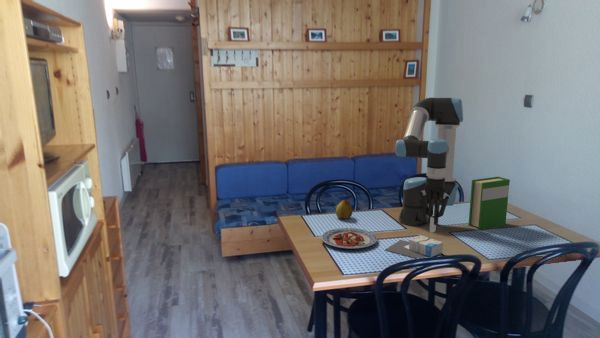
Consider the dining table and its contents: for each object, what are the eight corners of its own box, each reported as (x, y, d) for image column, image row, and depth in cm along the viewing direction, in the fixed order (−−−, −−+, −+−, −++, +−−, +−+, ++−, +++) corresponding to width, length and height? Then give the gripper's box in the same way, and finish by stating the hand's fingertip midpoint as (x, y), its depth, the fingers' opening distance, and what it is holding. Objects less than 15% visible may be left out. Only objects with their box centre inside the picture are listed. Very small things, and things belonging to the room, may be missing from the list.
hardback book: (479, 229, 218) (483, 183, 213) (468, 225, 225) (471, 179, 220) (505, 224, 225) (509, 179, 220) (493, 220, 232) (497, 176, 227)
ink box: (431, 246, 183) (403, 237, 194) (430, 257, 184) (402, 247, 195) (443, 241, 188) (415, 232, 199) (442, 252, 189) (414, 243, 200)
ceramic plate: (312, 236, 211) (312, 230, 210) (358, 229, 221) (358, 223, 220) (337, 256, 188) (337, 249, 187) (388, 246, 198) (388, 240, 197)
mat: (384, 250, 193) (384, 249, 193) (400, 240, 205) (400, 239, 204) (425, 261, 181) (425, 260, 181) (440, 250, 193) (440, 249, 193)
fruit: (336, 215, 243) (336, 194, 240) (352, 215, 241) (352, 194, 239) (335, 220, 234) (335, 198, 232) (352, 220, 233) (352, 199, 231)
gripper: (416, 176, 182) (414, 230, 187) (447, 181, 174) (444, 237, 179) (424, 173, 187) (421, 225, 192) (454, 177, 179) (451, 232, 184)
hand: (432, 231), depth 185 cm, fingers closed
